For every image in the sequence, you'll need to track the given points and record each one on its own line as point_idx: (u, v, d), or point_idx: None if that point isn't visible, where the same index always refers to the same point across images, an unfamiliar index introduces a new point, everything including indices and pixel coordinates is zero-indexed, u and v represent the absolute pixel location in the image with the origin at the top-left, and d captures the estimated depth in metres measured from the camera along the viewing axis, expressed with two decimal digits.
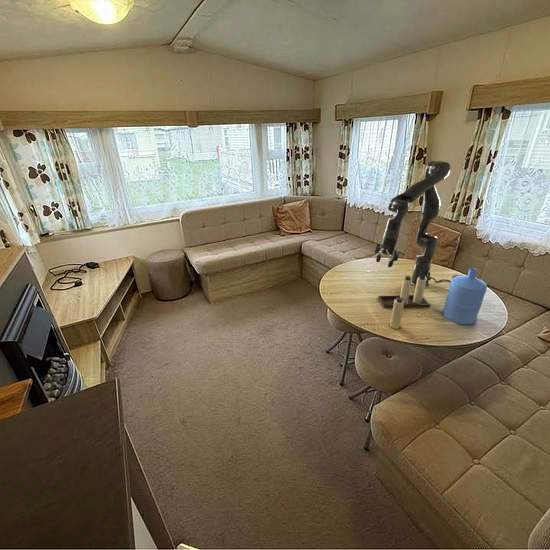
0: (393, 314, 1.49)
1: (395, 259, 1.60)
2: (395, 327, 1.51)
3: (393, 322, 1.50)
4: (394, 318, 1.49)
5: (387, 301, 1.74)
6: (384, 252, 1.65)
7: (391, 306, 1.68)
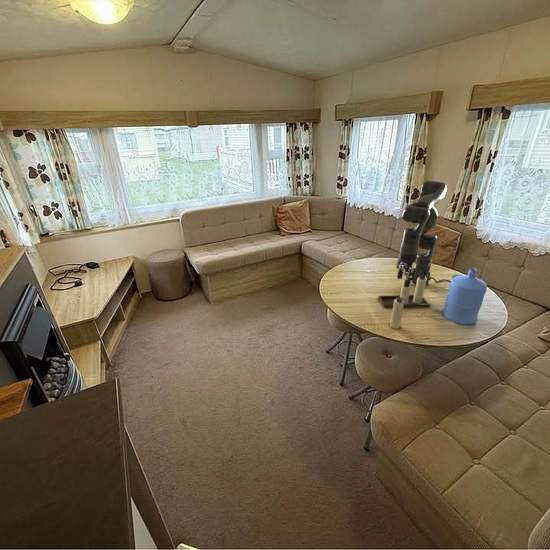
0: (393, 314, 1.49)
1: (410, 278, 1.33)
2: (395, 327, 1.51)
3: (393, 322, 1.50)
4: (394, 318, 1.49)
5: (387, 301, 1.74)
6: (402, 268, 1.39)
7: (391, 306, 1.68)
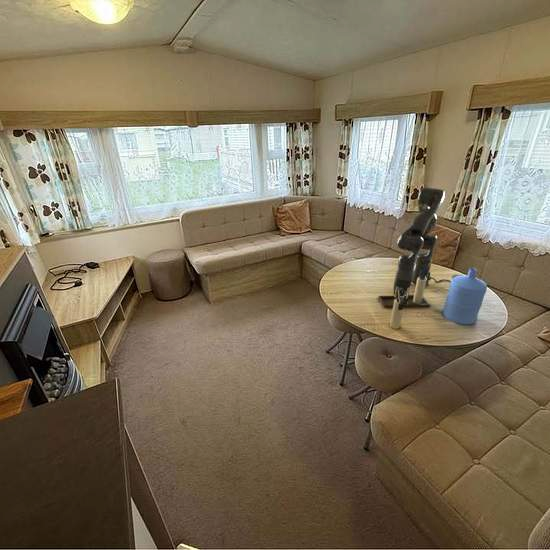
0: (393, 314, 1.49)
1: (403, 302, 1.41)
2: (395, 327, 1.51)
3: (393, 322, 1.50)
4: (394, 318, 1.49)
5: (387, 301, 1.74)
6: None
7: (391, 306, 1.68)
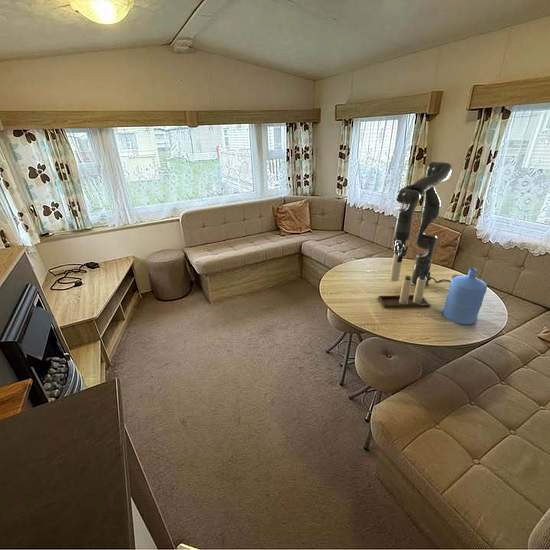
0: (393, 267, 1.61)
1: (402, 254, 1.52)
2: (394, 280, 1.62)
3: (392, 275, 1.62)
4: (393, 271, 1.61)
5: (387, 301, 1.74)
6: None
7: (391, 306, 1.68)
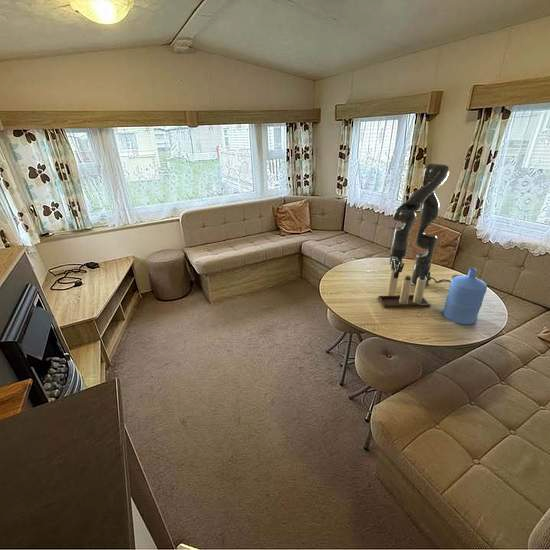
0: (389, 282, 1.66)
1: (398, 270, 1.58)
2: (391, 294, 1.68)
3: (389, 290, 1.67)
4: (390, 286, 1.66)
5: (387, 301, 1.74)
6: None
7: (391, 306, 1.68)
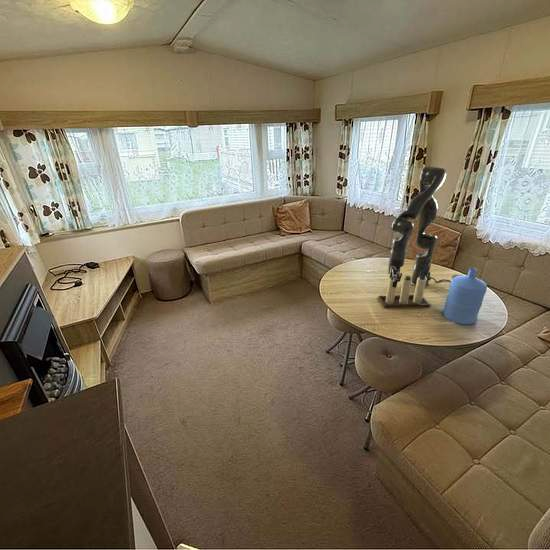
0: (388, 291, 1.68)
1: (397, 280, 1.60)
2: (390, 303, 1.70)
3: (388, 298, 1.70)
4: (389, 295, 1.69)
5: None
6: (392, 271, 1.64)
7: (391, 306, 1.68)
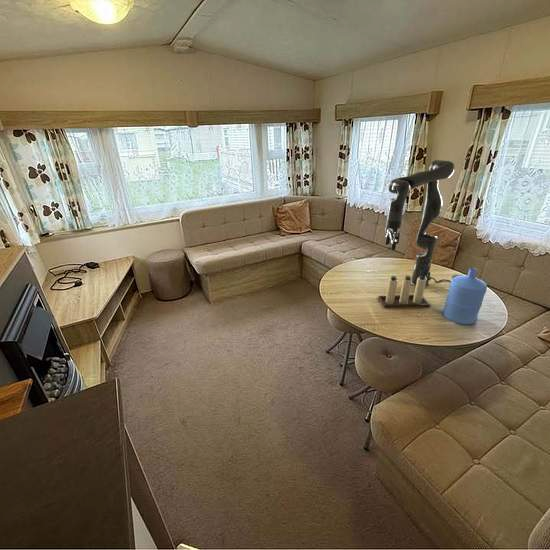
0: (388, 291, 1.68)
1: (395, 242, 1.58)
2: (390, 303, 1.70)
3: (388, 298, 1.70)
4: (389, 295, 1.69)
5: None
6: (389, 234, 1.64)
7: (391, 306, 1.68)
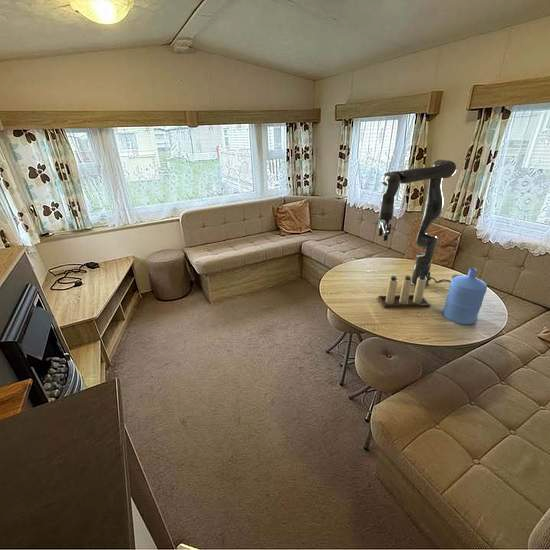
0: (388, 291, 1.68)
1: (387, 232, 1.64)
2: (390, 303, 1.70)
3: (388, 298, 1.70)
4: (389, 295, 1.69)
5: None
6: (382, 226, 1.71)
7: (391, 306, 1.68)
